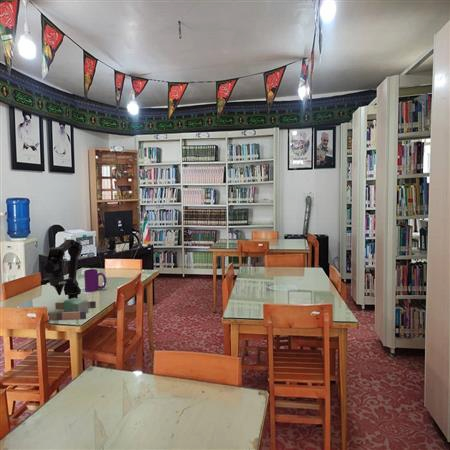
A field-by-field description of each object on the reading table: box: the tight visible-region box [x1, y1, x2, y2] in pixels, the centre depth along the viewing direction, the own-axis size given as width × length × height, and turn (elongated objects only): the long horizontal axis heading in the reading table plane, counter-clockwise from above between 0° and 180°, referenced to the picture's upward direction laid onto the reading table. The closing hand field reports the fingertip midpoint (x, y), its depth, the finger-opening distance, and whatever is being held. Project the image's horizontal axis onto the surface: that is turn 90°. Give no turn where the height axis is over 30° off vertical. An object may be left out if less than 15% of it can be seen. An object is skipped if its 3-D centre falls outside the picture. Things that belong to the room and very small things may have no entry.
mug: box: [83, 268, 107, 293], centre depth 259 cm, size 9×16×15 cm, turn 90°
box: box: [63, 297, 89, 314], centre depth 212 cm, size 7×14×8 cm, turn 59°
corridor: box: [47, 300, 97, 321], centre depth 210 cm, size 20×24×4 cm
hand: (59, 295), depth 210 cm, fingers closed
